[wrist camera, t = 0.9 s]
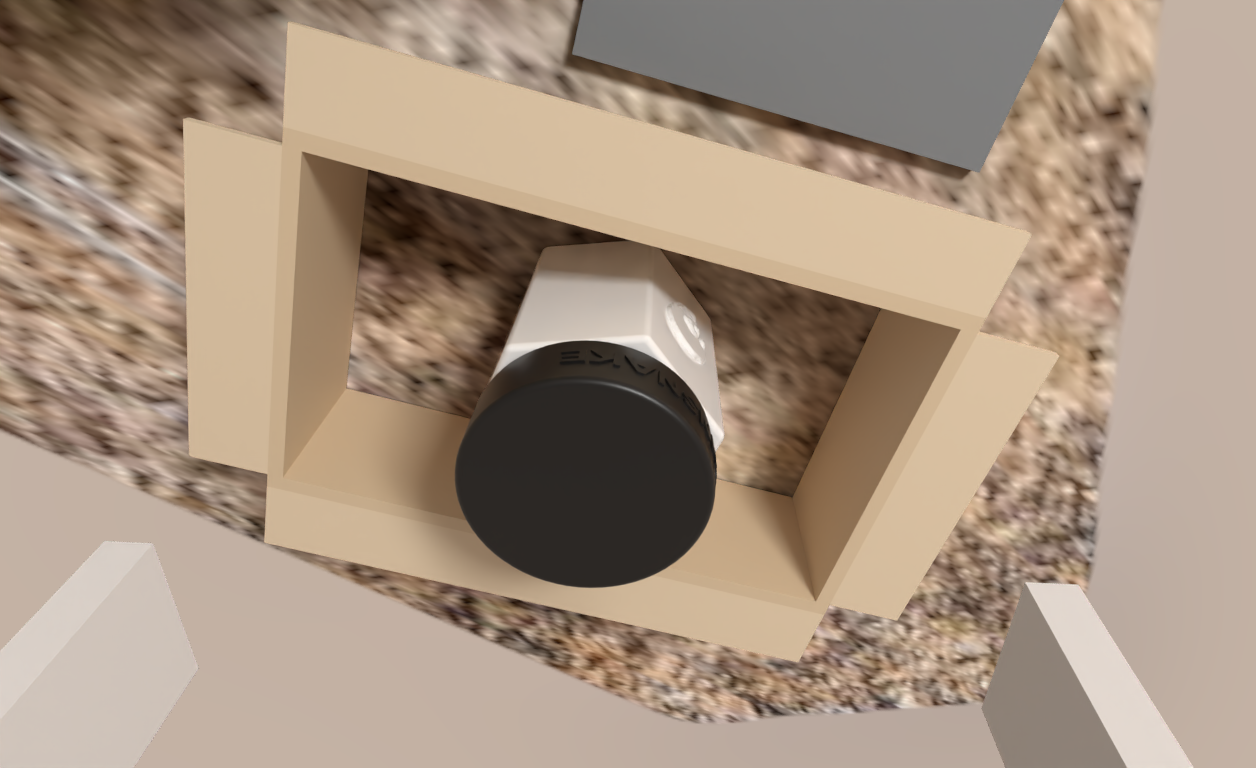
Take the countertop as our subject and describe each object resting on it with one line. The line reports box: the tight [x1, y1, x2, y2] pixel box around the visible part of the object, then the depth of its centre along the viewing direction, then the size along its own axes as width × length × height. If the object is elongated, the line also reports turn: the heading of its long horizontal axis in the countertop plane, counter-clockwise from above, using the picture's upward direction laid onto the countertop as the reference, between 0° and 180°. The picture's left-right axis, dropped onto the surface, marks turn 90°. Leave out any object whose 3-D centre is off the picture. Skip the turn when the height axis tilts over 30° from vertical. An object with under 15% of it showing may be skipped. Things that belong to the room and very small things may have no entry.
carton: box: [183, 22, 1059, 662], centre depth 32 cm, size 29×20×7 cm
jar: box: [455, 240, 725, 588], centre depth 29 cm, size 9×8×12 cm
